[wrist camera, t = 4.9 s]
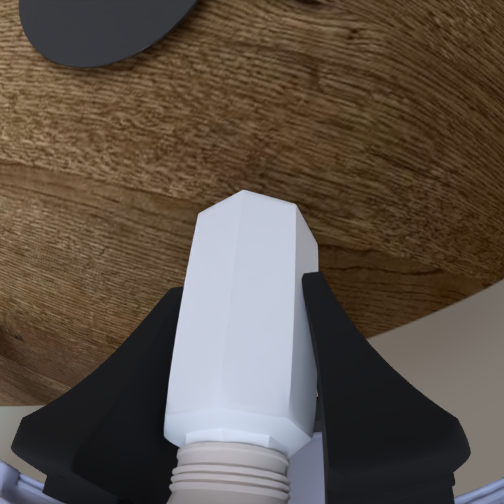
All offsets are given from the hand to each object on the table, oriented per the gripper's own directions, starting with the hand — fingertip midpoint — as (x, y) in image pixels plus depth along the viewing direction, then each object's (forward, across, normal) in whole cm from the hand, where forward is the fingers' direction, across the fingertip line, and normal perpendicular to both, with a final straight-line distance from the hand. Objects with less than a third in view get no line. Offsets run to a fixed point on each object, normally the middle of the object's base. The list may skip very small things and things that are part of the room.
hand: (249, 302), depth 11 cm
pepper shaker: (+4, 0, 0) cm, 4 cm away
